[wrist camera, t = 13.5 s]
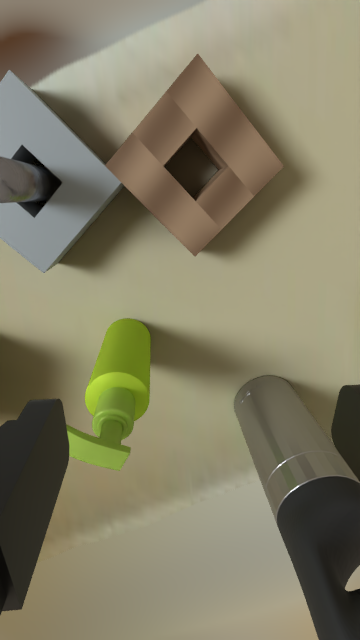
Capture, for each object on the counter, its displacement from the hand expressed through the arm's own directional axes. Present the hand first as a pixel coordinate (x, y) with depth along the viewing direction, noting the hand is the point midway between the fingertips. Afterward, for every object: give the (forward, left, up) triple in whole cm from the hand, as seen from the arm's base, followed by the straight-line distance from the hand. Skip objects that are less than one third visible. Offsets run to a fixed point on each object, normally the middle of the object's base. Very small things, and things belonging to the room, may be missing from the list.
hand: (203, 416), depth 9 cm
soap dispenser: (-4, +12, -30) cm, 33 cm away
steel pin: (+14, +4, -30) cm, 33 cm away
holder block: (+4, -8, -30) cm, 31 cm away
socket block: (+14, +4, -30) cm, 33 cm away
